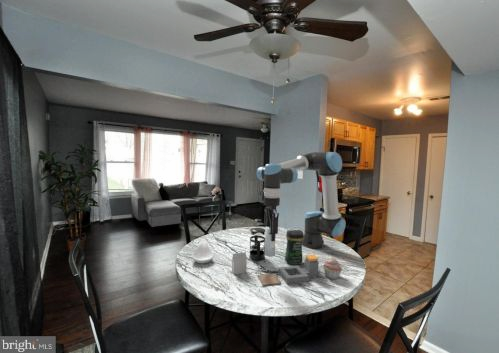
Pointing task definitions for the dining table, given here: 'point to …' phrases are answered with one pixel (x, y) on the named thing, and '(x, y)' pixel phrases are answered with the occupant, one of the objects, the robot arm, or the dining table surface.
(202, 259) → the spoon rest
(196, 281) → the dining table surface
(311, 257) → the orange block
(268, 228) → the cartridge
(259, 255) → the french press
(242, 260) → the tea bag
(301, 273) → the housing
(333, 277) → the cupcake
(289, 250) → the coffee jar
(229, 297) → the dining table surface
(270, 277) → the pad
